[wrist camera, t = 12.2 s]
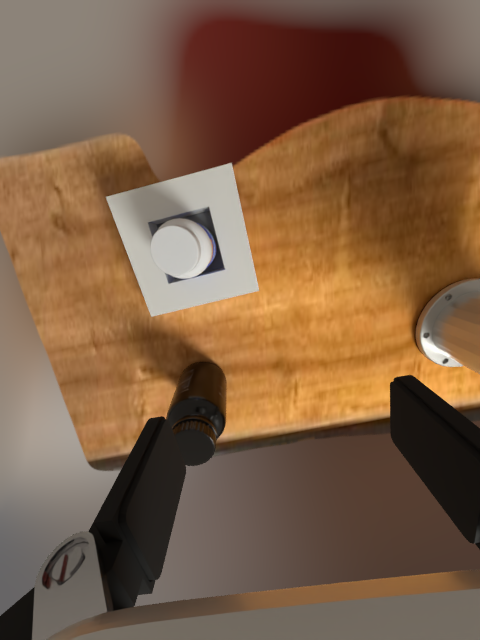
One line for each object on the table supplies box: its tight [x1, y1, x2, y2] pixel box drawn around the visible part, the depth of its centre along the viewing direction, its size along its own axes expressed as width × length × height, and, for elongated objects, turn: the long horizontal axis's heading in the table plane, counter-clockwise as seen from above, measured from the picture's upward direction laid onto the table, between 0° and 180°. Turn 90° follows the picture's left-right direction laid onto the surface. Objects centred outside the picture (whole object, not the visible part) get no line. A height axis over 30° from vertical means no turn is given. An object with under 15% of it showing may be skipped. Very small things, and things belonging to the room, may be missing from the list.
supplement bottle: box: [166, 362, 226, 466], centre depth 29 cm, size 7×7×12 cm
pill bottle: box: [150, 218, 217, 279], centre depth 24 cm, size 5×5×10 cm
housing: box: [106, 163, 259, 317], centre depth 27 cm, size 13×13×4 cm
